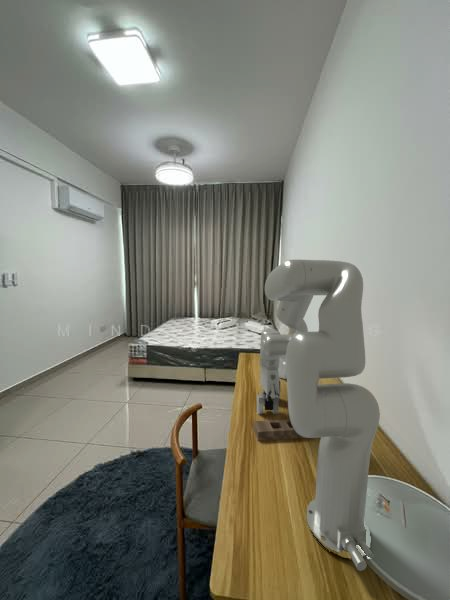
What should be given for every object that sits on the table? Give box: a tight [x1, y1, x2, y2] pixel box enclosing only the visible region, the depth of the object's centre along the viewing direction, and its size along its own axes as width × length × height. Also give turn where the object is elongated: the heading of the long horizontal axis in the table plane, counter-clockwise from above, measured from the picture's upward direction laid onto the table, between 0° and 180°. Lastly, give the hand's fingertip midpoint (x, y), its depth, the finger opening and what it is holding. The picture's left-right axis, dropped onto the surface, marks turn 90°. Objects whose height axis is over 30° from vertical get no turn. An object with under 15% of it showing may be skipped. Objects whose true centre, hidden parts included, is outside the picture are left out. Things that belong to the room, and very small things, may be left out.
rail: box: [253, 419, 308, 441], centre depth 84 cm, size 20×6×3 cm, turn 97°
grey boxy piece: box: [256, 393, 280, 416], centre depth 97 cm, size 8×3×7 cm, turn 97°
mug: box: [278, 356, 287, 380], centre depth 131 cm, size 12×9×11 cm
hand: (267, 406), depth 97 cm, fingers closed on grey boxy piece, 3 cm apart
